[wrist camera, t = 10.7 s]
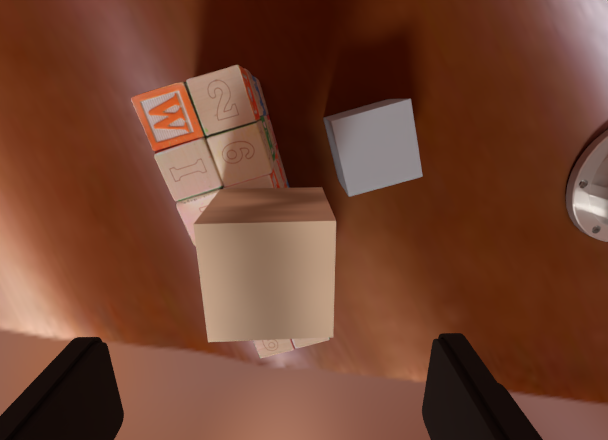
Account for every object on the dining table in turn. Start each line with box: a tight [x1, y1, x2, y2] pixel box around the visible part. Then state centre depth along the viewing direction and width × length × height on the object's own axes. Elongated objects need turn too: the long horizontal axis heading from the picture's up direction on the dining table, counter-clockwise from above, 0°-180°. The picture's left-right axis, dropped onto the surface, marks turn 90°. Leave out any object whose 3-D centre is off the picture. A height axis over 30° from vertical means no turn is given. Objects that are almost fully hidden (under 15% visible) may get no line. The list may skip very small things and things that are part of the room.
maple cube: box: [193, 187, 336, 342], centre depth 18 cm, size 6×6×6 cm
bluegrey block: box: [323, 99, 423, 197], centre depth 28 cm, size 6×6×6 cm
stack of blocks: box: [131, 65, 330, 358], centre depth 27 cm, size 21×6×12 cm, turn 16°
